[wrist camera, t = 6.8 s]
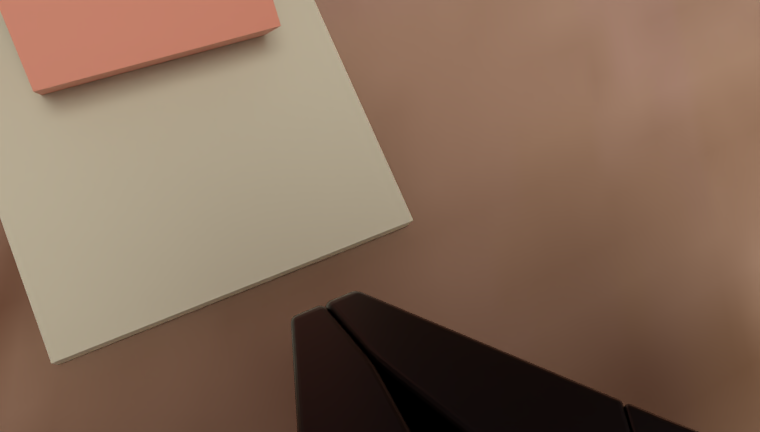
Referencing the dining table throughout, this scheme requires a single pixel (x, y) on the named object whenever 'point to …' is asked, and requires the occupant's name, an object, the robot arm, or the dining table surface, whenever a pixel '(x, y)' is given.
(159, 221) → the strip
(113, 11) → the domino
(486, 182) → the dining table surface
